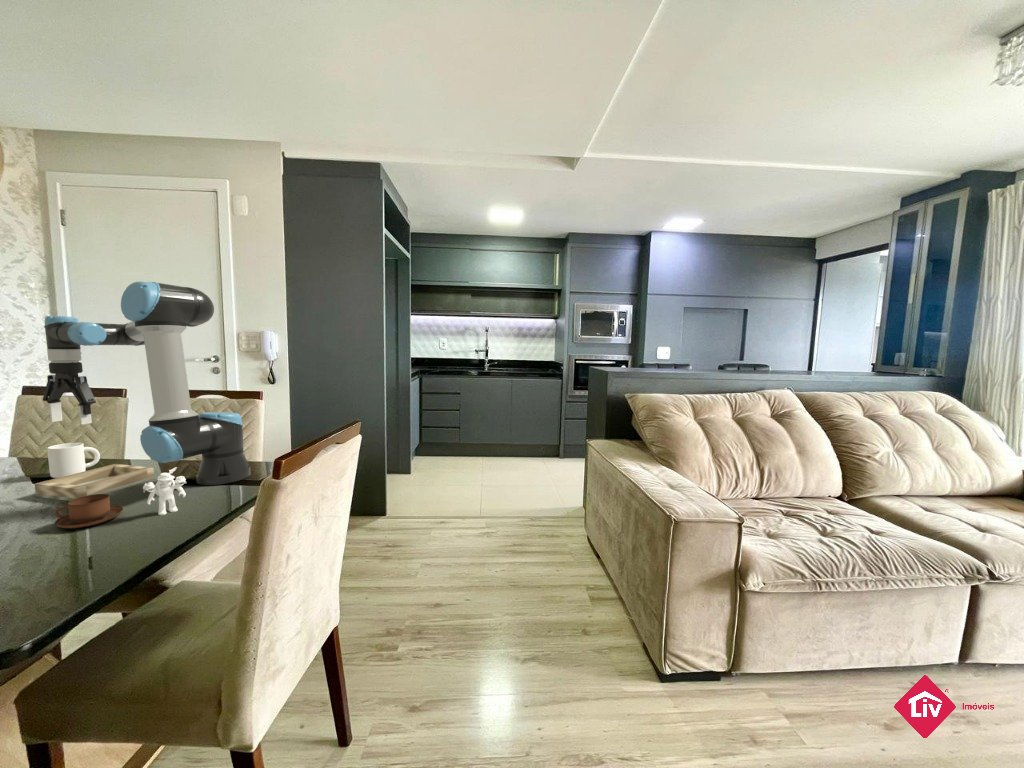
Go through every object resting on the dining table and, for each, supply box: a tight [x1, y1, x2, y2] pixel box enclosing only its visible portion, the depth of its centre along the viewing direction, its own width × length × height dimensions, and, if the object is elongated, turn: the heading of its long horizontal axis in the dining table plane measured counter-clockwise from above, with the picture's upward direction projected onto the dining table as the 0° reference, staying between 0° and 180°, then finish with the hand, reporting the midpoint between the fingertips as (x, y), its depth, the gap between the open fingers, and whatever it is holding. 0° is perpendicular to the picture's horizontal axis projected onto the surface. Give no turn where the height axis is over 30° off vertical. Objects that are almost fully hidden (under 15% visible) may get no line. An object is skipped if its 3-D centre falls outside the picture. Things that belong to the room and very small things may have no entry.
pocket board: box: [34, 463, 156, 502], centre depth 123 cm, size 17×20×4 cm
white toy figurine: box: [142, 466, 187, 516], centre depth 106 cm, size 9×4×12 cm, turn 144°
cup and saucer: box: [53, 493, 124, 529], centre depth 101 cm, size 12×12×6 cm
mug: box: [46, 442, 101, 479], centre depth 136 cm, size 12×8×10 cm
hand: (71, 422), depth 134 cm, fingers open, 13 cm apart
